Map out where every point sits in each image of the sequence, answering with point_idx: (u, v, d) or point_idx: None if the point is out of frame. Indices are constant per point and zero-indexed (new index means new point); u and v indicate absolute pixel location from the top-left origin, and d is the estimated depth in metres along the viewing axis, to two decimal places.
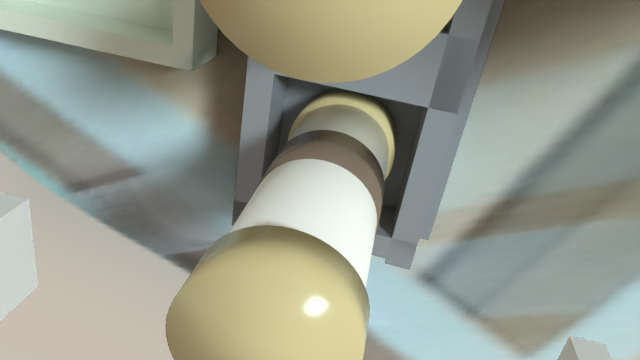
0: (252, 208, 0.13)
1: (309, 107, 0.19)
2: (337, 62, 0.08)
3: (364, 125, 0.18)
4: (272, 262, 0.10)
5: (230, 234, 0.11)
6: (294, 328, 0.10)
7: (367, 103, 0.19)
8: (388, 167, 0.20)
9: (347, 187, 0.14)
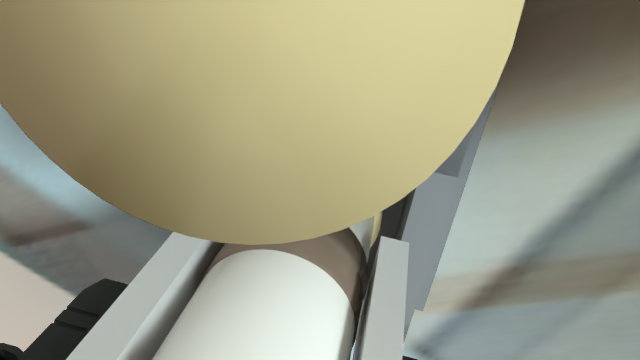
0: (179, 334, 0.09)
1: None
2: (249, 212, 0.04)
3: None
4: None
5: None
6: None
7: None
8: (374, 234, 0.16)
9: (312, 293, 0.10)
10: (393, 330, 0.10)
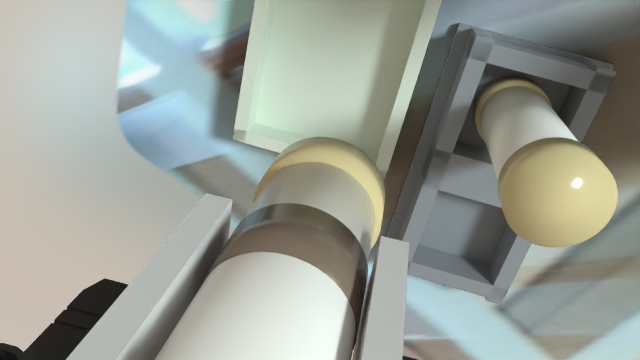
0: (180, 337, 0.09)
1: (278, 164, 0.16)
2: (552, 240, 0.21)
3: (343, 191, 0.15)
4: None
5: None
6: None
7: (348, 160, 0.16)
8: (374, 235, 0.16)
9: (313, 296, 0.10)
10: (392, 330, 0.10)
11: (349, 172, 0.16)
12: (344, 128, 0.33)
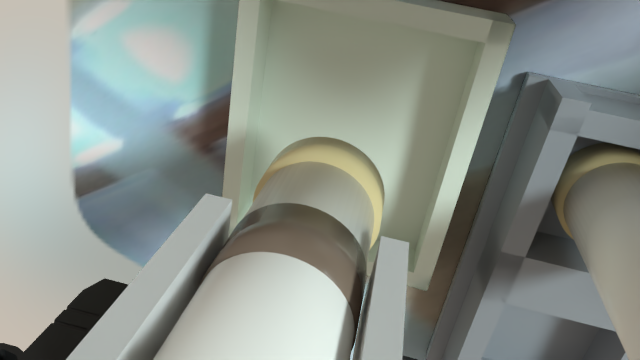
0: (178, 337, 0.09)
1: (277, 164, 0.16)
2: None
3: (342, 191, 0.15)
4: None
5: None
6: None
7: (347, 160, 0.16)
8: (373, 235, 0.16)
9: (312, 296, 0.10)
10: (392, 330, 0.10)
11: (348, 172, 0.16)
12: None
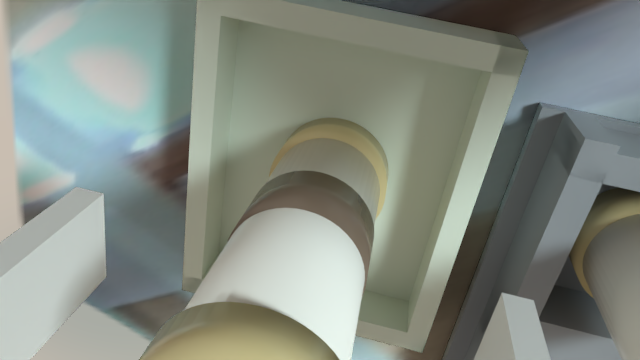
0: (218, 272, 0.11)
1: (292, 141, 0.18)
2: None
3: (352, 163, 0.16)
4: (231, 357, 0.08)
5: (187, 311, 0.10)
6: None
7: (355, 137, 0.18)
8: (379, 206, 0.18)
9: (329, 243, 0.12)
10: None
11: (356, 148, 0.17)
12: None
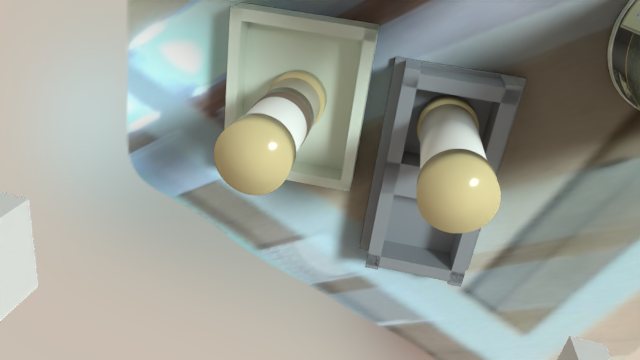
0: (246, 113, 0.30)
1: (276, 80, 0.36)
2: (459, 228, 0.27)
3: (304, 86, 0.35)
4: (254, 120, 0.27)
5: (237, 118, 0.28)
6: (263, 146, 0.27)
7: (307, 76, 0.36)
8: (320, 111, 0.37)
9: (289, 106, 0.31)
10: None
11: (307, 81, 0.36)
12: (314, 149, 0.40)
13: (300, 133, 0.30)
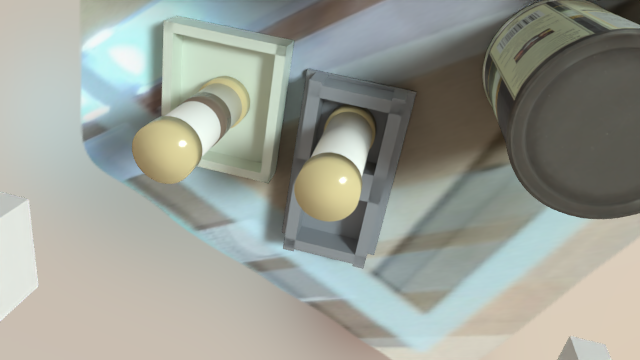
0: (165, 115, 0.36)
1: None
2: (329, 217, 0.33)
3: (225, 91, 0.41)
4: (163, 123, 0.33)
5: (154, 119, 0.34)
6: (171, 144, 0.33)
7: (230, 82, 0.42)
8: (242, 113, 0.43)
9: (203, 110, 0.37)
10: None
11: (230, 87, 0.42)
12: (241, 145, 0.46)
13: (211, 133, 0.36)
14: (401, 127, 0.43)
